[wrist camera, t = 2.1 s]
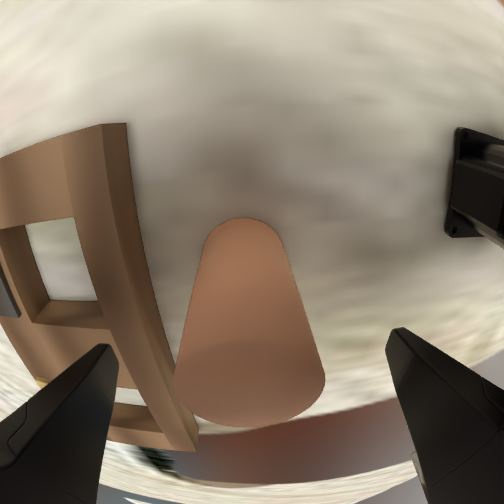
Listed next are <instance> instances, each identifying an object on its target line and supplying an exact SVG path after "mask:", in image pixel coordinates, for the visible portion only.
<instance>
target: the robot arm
mask: <svg viewBox="0 0 504 504" xmlns="http://www.w3.org/2000/svg"><path fill="white" fill-rule="evenodd" d="M463 134H464V138H463ZM452 228H453V230H452ZM445 233H446V234H447V235H448V236H450V237H452V238H460V237H484V236H485V237H487V238H488V239H490V240H491V241H492V242H494V243H495V244H497V245H498V246H500V247H501V248H503V249H504V141H503V140H500V139H498V138H495V137H492V136H489V135H486V134H484V133H481V132H477V131H474V130H471V129H468V128H463V127H459V128H458V129H457V131H456V143H455V159H454V170H453V180H452V188H451V196H450V202H449V209H448V215H447V220H446V226H445ZM385 353H386V357H387V360H388V364H389V368H390V371H391V375H392V379H393V383H394V387H395V390H396V393H397V396H398V399H399V402H400V404H401V407H402V410H403V413H404V416H405V419H406V421H407V425H408V427H409V430H410V434H411V437H412V440H413V443H414V446H415V449H416V453H417V456H418V459H419V463H420V466H421V470H422V473H423V477H424V481H425V485H426V488H427V493H428V497H429V501H430V504H504V390H503V389H501V388H499V387H497V386H496V385H494V384H493V383H491V382H489V381H488V380H486V379H485V378H483V377H481V376H480V375H479V374H477V373H475V372H474V371H472V370H471V369H469V368H468V367H466V366H465V365H463V364H461V363H460V362H458V361H457V360H455V359H454V358H452V357H450V356H449V355H447V354H446V353H444V352H443V351H441V350H439V349H438V348H436V347H435V346H433V345H431V344H430V343H428V342H427V341H425V340H424V339H422V338H420V337H419V336H417V335H416V334H414V333H412V332H411V331H409V330H407V329H406V328H404V327H400V328H395V329H393V330H392V331H391V333H390V336H389V339H388V341H387V344H386V348H385ZM118 373H119V361H118V359H117V357H116V354H115V352H114V350H113V348H112V346H111V345H110V344H106V343H98V344H97V345H95V346H94V347H93V348H92V349H90V350H89V351H88V352H87V353H85V354H84V355H83V356H82V357H80V358H79V359H78V360H77V361H75V362H74V363H73V364H72V365H70V366H69V367H68V368H67V369H65V370H64V371H63V372H62V373H61V374H59V375H58V376H57V377H56V378H54V379H53V380H52V381H51V382H50V383H48V384H47V385H46V386H45V387H43V388H42V389H41V390H40V391H39V392H37V393H36V394H35V395H34V396H33V397H31V398H30V399H29V400H28V402H25V403H24V404H23V405H22V406H20V407H19V408H18V409H17V410H16V411H14V412H13V413H12V414H11V415H9V416H8V417H6V418H5V419H4V420H2V421H1V422H0V504H96V500H97V492H98V485H99V478H100V472H101V466H102V460H103V455H104V449H105V444H106V439H107V434H108V430H109V425H110V421H111V416H112V412H113V407H114V401H115V394H116V386H117V380H118Z"/></svg>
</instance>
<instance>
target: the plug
mask: <svg viewBox="0 0 504 504" xmlns="http://www.w3.org/2000/svg"><path fill="white" fill-rule="evenodd" d="M324 386H325V373H324V370H323V367H322V363H321V360H320V357H319V354H318V351H317V347H316V344H315V341H314V338H313V335H312V332H311V328H310V325H309V322H308V319H307V316H306V313H305V310H304V307H303V304H302V301H301V298H300V295H299V292H298V289H297V286H296V283H295V280H294V277H293V274H292V271H291V268H290V265H289V262H288V259H287V256H286V254H285V251H284V248H283V245H282V242H281V240H280V238H279V236H278V235H277V233H276V232H275V231H274V230H273V229H272V228H271V227H270V226H268V225H267V224H265V223H263V222H261V221H259V220H255V219H251V218H236V219H232V220H228V221H226V222H224V223H222V224H220V225H219V226H217V227H216V228H215V229H214V230H213V231H212V232H211V233H210V234H209V236H208V237H207V239H206V241H205V244H204V247H203V251H202V255H201V259H200V263H199V267H198V271H197V275H196V279H195V283H194V287H193V291H192V295H191V299H190V304H189V308H188V312H187V316H186V321H185V325H184V330H183V334H182V339H181V343H180V348H179V353H178V358H177V362H176V367H175V372H174V378H173V389H174V392H175V395H176V397H177V399H178V400H179V401H180V403H181V404H182V405H183V406H184V407H185V408H186V409H188V410H189V411H190V412H192V413H193V414H195V415H197V416H198V417H201V418H203V419H205V420H208V421H210V422H213V423H217V424H221V425H226V426H233V427H259V426H266V425H271V424H276V423H279V422H282V421H285V420H288V419H290V418H293V417H295V416H297V415H299V414H300V413H302V412H303V411H305V410H306V409H308V408H309V407H310V406H311V405H312V404H313V403H315V402H316V400H317V399H318V398H319V396H320V395H321V393H322V391H323V388H324Z"/></svg>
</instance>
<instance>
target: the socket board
mask: <svg viewBox="0 0 504 504" xmlns="http://www.w3.org/2000/svg"><path fill="white" fill-rule="evenodd" d="M69 217H74V219H75V223H76V228H77V232H78V236H79V240H80V243H81V247H82V251H83V254H84V258H85V261H86V265H87V268H88V271H89V274H90V277H91V280H92V283H93V286H94V289H95V292H96V295H97V298H98V301H99V302H89V301H55V300H49V297H48V295H47V292H46V290H45V287H44V285H43V282H42V279H41V277H40V274H39V271H38V268H37V266H36V263H35V260H34V257H33V254H32V250H31V247H30V244H29V241H28V237H27V234H26V230H25V226H24V225H26V224H31V223H37V222H43V221H50V220H56V219H63V218H69ZM0 324H1V326H2V327H3V329H4V331H5V333H6V335H7V337H8V338H9V340H10V342H11V343H12V345H13V347H14V348H15V350H16V352H17V353H18V355H19V357H20V358H21V360H22V361H23V363H24V364H25V366H26V367H27V369H28V370H29V372H30V373H31V375H32V376H33V377H34V379H35V381H36V382H37V384H38V385H39V387H40V388H41V389H42V388H43V387H45V386H46V385H47V384H48V383H50V382H51V381H52V380H53V379H54V378H56V377H57V376H58V375H59V374H61V373H62V372H63V371H64V370H65V369H67V368H68V367H69V366H70V365H72V364H73V363H74V362H75V361H77V360H78V359H79V358H80V357H82V356H83V355H84V354H85V353H87V352H88V351H89V350H90V349H92V348H93V347H94V346H95V345H97V344H98V343H106V344H110V345H111V346H112V348H113V350H114V352H115V354H116V357H117V359H118V361H119V373H118V380H117V386H116V387H120V388H129V389H138V391H139V393H140V394H141V396H142V398H143V400H144V402H145V403H146V405H147V407H145V406H136V405H128V404H120V403H114V407H113V412H112V416H111V421H110V425H109V430H108V434H107V439H106V440H109V441H114V442H119V443H125V444H130V445H137V446H143V447H151V448H159V449H169V450H180V451H197V441H198V430H199V428H198V426H197V424H196V421H195V419H194V416H193V414H192V412H190V411H189V410H188V409H186V408H185V407H184V406H183V405H182V404H181V403H180V401H179V400H178V399H177V397H176V395H175V392H174V389H173V378H174V372H175V364H174V361H173V358H172V355H171V352H170V349H169V346H168V342H167V339H166V336H165V332H164V329H163V326H162V322H161V318H160V315H159V311H158V308H157V304H156V300H155V296H154V292H153V288H152V284H151V280H150V276H149V272H148V267H147V263H146V258H145V253H144V249H143V244H142V239H141V234H140V228H139V223H138V217H137V211H136V205H135V199H134V192H133V186H132V178H131V171H130V162H129V153H128V143H127V132H126V123H112V124H100V125H96V126H92V127H88V128H84V129H81V130H77V131H74V132H71V133H67V134H64V135H61V136H58V137H55V138H52V139H49V140H46V141H43V142H40V143H37V144H34V145H32V146H29V147H27V148H24V149H21V150H19V151H16V152H14V153H12V154H9V155H7V156H5V157H2V158H0Z"/></svg>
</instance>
